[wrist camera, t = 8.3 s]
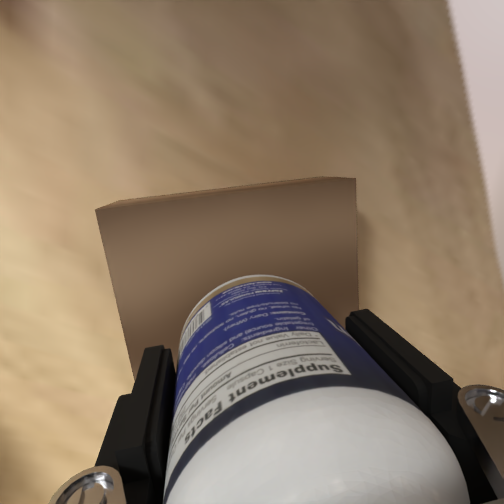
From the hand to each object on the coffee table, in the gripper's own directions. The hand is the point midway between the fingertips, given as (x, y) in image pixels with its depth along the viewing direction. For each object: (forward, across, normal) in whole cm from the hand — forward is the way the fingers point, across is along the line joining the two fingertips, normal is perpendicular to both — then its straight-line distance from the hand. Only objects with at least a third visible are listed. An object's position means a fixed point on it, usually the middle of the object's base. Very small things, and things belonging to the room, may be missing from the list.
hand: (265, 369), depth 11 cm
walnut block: (+9, 0, 0) cm, 9 cm away
